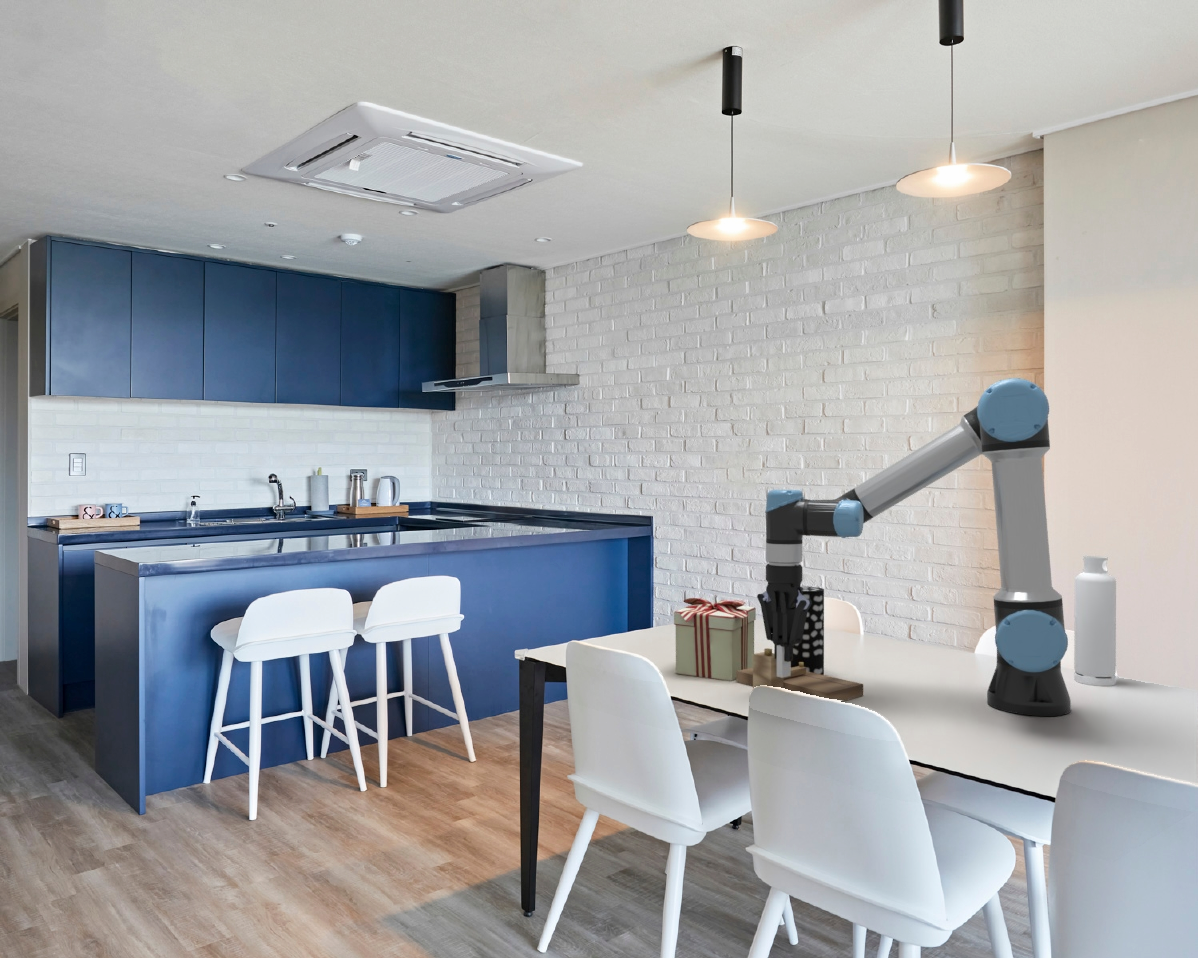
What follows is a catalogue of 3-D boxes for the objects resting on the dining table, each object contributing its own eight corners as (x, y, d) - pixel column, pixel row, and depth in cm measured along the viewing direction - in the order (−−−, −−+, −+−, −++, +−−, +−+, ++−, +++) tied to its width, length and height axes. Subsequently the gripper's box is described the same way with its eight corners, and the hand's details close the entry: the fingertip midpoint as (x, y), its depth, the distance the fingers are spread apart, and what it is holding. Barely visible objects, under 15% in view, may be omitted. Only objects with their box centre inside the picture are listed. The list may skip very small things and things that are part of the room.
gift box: (667, 677, 204) (667, 603, 204) (694, 661, 221) (694, 592, 220) (740, 685, 197) (739, 607, 196) (761, 668, 213) (761, 596, 213)
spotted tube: (824, 679, 201) (824, 591, 201) (787, 678, 203) (787, 590, 203) (823, 671, 210) (823, 587, 209) (787, 669, 211) (787, 586, 211)
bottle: (1081, 675, 205) (1081, 554, 205) (1120, 681, 199) (1121, 556, 199) (1069, 681, 199) (1069, 557, 199) (1109, 687, 193) (1109, 559, 193)
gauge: (812, 686, 194) (812, 644, 194) (770, 696, 186) (770, 652, 186) (794, 681, 198) (794, 640, 198) (753, 691, 190) (753, 648, 190)
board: (863, 695, 187) (863, 683, 187) (827, 705, 180) (827, 692, 180) (772, 674, 207) (772, 663, 207) (736, 681, 200) (736, 670, 200)
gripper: (820, 564, 183) (820, 679, 183) (772, 559, 193) (771, 667, 193) (797, 567, 178) (796, 684, 178) (748, 561, 188) (748, 672, 189)
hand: (783, 675), depth 186 cm, fingers closed
